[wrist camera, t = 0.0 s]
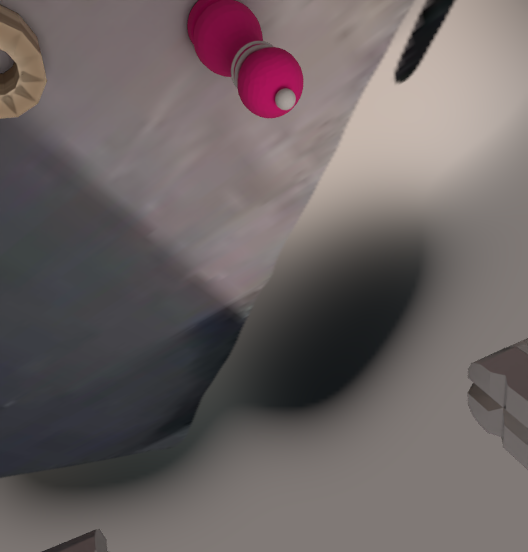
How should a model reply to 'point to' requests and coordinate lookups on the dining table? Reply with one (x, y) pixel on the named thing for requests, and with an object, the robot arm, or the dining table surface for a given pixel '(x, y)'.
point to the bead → (19, 66)
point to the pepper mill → (245, 56)
